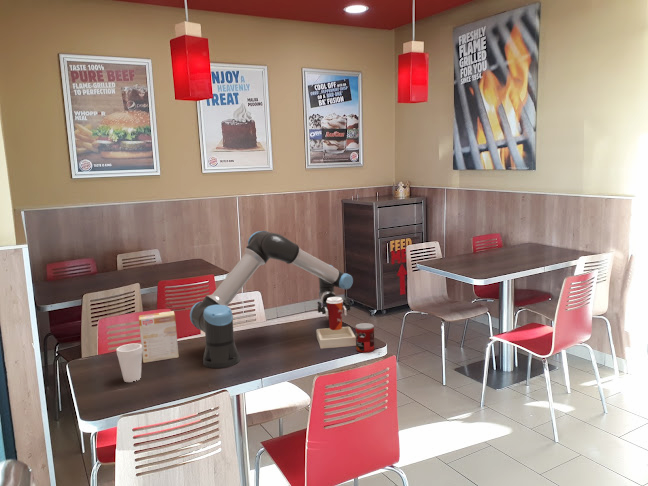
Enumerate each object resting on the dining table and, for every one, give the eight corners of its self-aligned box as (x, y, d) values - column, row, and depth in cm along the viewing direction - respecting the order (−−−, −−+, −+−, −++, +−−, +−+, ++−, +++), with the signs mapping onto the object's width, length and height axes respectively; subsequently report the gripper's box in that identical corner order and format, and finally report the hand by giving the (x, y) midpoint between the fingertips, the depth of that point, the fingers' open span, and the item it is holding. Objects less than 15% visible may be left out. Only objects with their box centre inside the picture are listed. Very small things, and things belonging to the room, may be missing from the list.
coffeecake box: (177, 352, 237) (174, 310, 234) (179, 357, 230) (175, 314, 227) (142, 357, 232) (138, 314, 229) (143, 363, 225) (138, 319, 222)
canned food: (353, 348, 233) (352, 324, 231) (370, 345, 235) (369, 322, 234) (359, 354, 226) (359, 329, 224) (377, 351, 228) (376, 326, 226)
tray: (320, 348, 234) (320, 340, 233) (316, 337, 250) (316, 329, 249) (356, 345, 236) (355, 337, 235) (350, 334, 252) (349, 326, 251)
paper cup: (344, 330, 238) (343, 300, 236) (327, 331, 238) (325, 301, 236) (344, 325, 246) (342, 296, 244) (327, 325, 246) (326, 296, 244)
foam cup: (136, 372, 215) (133, 341, 213) (149, 377, 209) (146, 346, 207) (115, 380, 208) (111, 348, 206) (127, 385, 202) (124, 353, 200)
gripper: (350, 306, 260) (359, 319, 238) (309, 309, 258) (314, 323, 235) (350, 291, 259) (358, 303, 237) (308, 294, 257) (313, 306, 234)
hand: (336, 313), depth 236 cm, fingers closed on paper cup, 8 cm apart
